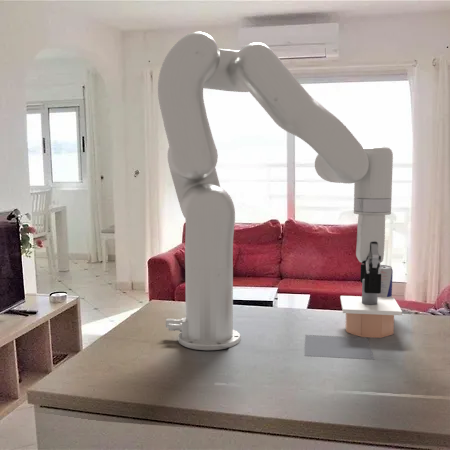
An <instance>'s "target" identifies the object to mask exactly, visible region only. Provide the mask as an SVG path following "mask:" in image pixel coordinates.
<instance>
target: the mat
mask: <svg viewBox="0 0 450 450" xmlns="http://www.w3.org/2000/svg"><path fill="white" fill-rule="evenodd" d="M304 338H305V340H304V357H320V358H321V357H322V358H338V359H339V358H341V359H359V360H373V361H374V360H375V357H374V354H373V351H372V347H371V344H370V340H369V337H360V336H358V337H357V336H343V335H342V336H339V335H338V336H337V335H320V334H319V335H317V334H316V335H315V334H305V337H304Z"/></svg>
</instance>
